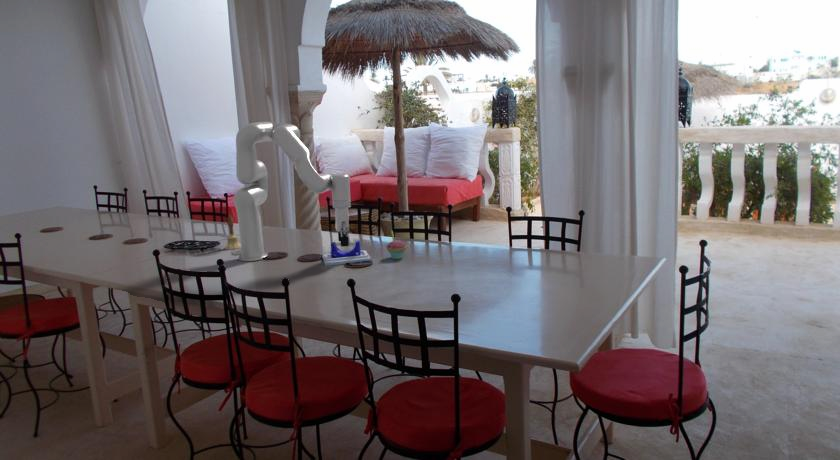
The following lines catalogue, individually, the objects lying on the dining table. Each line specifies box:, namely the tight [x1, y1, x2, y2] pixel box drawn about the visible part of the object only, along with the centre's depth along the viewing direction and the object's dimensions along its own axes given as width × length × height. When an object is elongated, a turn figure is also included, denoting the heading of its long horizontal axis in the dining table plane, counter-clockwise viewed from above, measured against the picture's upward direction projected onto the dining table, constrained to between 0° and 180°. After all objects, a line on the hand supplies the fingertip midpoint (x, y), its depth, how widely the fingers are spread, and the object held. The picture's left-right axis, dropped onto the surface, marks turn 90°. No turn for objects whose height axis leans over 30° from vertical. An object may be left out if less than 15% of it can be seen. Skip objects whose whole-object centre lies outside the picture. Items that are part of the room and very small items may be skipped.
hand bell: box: [224, 214, 241, 251], centre depth 305 cm, size 8×8×16 cm
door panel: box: [321, 249, 372, 267], centre depth 273 cm, size 19×16×2 cm
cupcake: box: [386, 230, 407, 260], centre depth 271 cm, size 9×8×12 cm
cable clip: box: [330, 240, 361, 258], centre depth 272 cm, size 12×4×6 cm, turn 90°
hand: (343, 243), depth 272 cm, fingers open, 9 cm apart
